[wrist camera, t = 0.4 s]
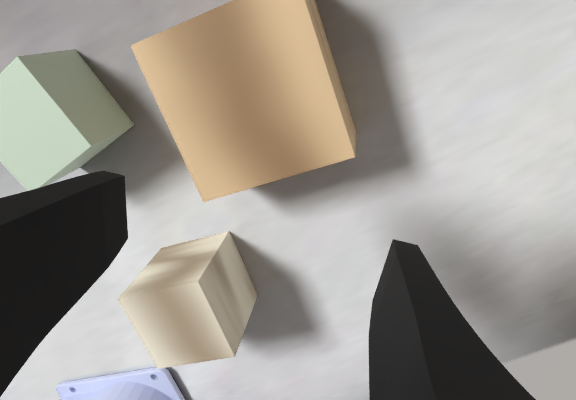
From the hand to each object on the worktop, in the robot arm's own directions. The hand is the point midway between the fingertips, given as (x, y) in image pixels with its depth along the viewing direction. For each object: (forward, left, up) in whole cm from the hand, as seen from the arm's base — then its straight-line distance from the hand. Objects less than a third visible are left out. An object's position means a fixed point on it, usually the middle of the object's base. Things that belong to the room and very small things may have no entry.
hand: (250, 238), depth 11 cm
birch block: (-8, -6, -11) cm, 15 cm away
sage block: (-11, +5, -11) cm, 16 cm away
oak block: (-1, +3, -11) cm, 11 cm away
